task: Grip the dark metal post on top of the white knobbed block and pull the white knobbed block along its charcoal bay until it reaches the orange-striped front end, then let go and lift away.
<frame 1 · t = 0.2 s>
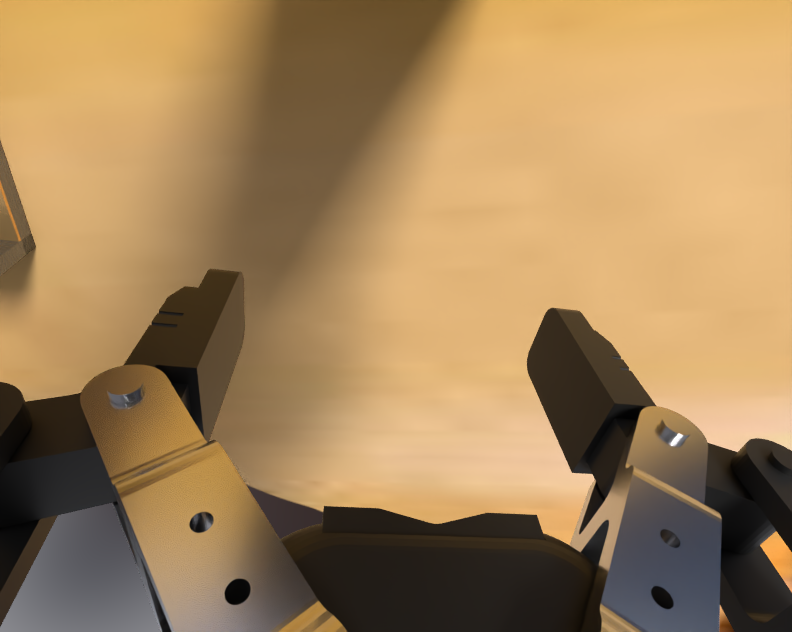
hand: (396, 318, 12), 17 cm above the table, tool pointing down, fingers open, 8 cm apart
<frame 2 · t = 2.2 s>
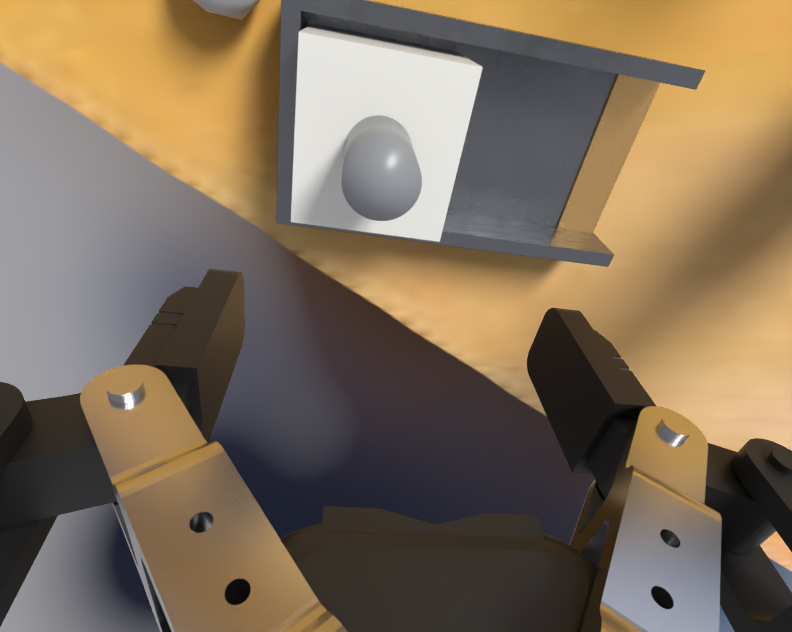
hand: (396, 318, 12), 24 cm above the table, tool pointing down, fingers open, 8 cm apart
white knobbed block: (378, 146, 25), point 7 cm above the table, slide at 0.0 cm
bay: (462, 132, 32), on the table
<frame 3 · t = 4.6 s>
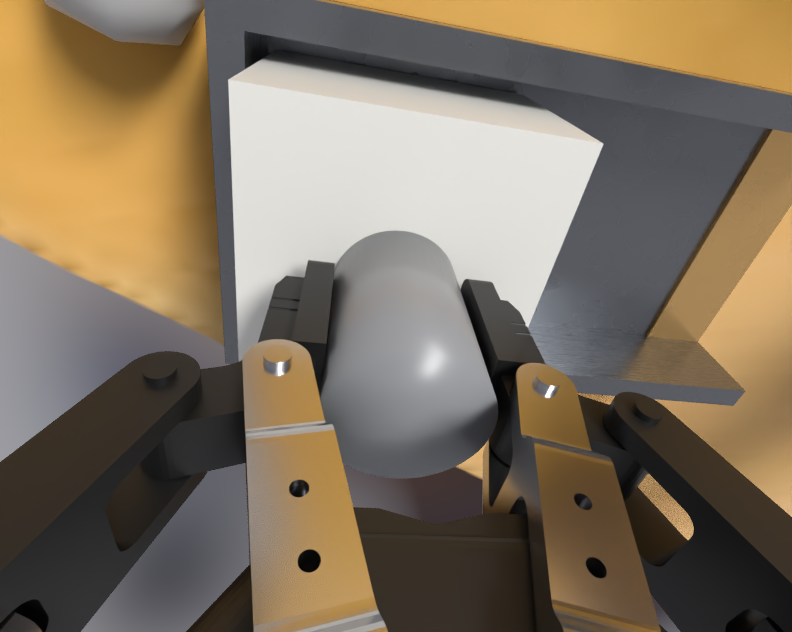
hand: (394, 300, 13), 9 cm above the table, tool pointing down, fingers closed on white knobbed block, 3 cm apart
white knobbed block: (392, 272, 14), point 7 cm above the table, slide at 0.0 cm, touching gripper
bay: (515, 208, 21), on the table
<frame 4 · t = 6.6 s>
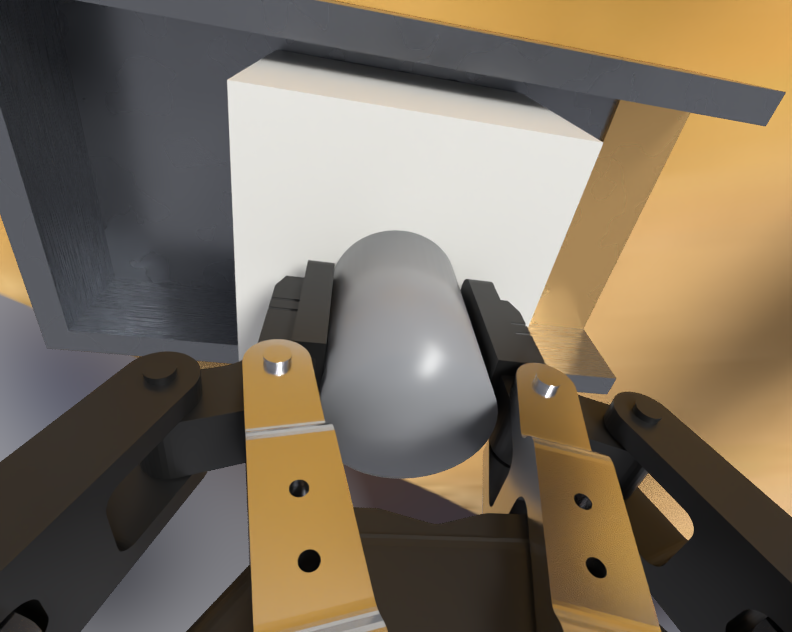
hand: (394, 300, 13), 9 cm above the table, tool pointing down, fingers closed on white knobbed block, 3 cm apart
white knobbed block: (392, 271, 14), point 7 cm above the table, slide at 6.8 cm, touching gripper
bay: (369, 187, 20), on the table
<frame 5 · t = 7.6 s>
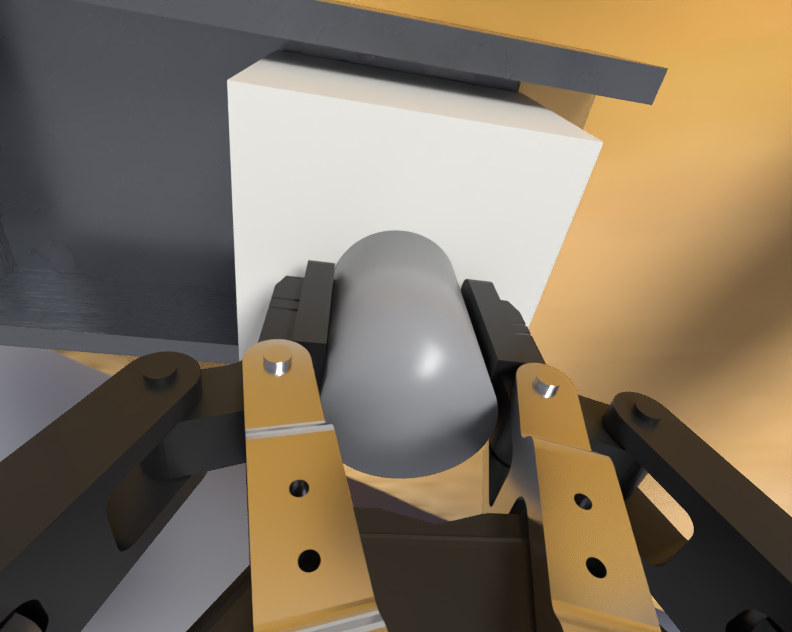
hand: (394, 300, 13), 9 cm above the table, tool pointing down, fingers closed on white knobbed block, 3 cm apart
white knobbed block: (392, 271, 14), point 7 cm above the table, slide at 10.9 cm, touching gripper
bay: (276, 174, 19), on the table
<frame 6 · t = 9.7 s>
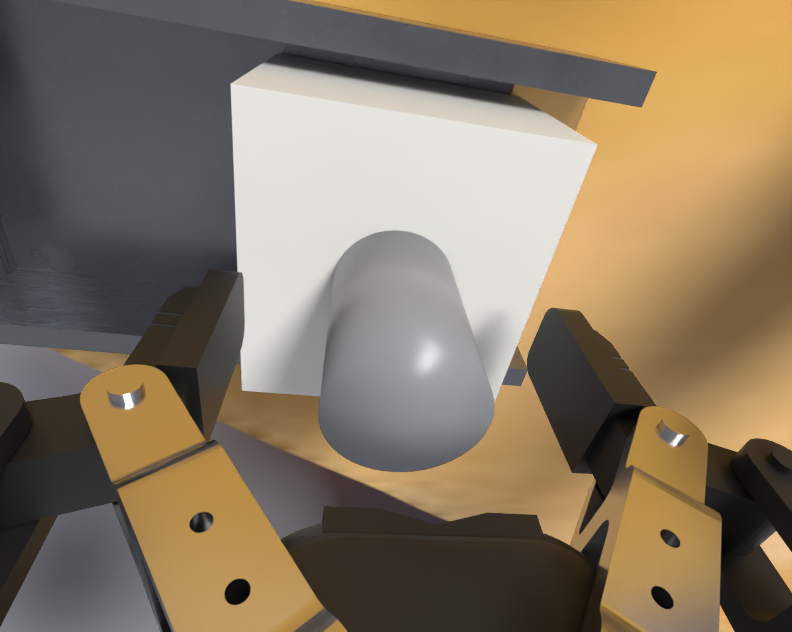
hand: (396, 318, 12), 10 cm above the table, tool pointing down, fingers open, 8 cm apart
white knobbed block: (391, 271, 14), point 7 cm above the table, slide at 11.0 cm
bay: (273, 175, 20), on the table
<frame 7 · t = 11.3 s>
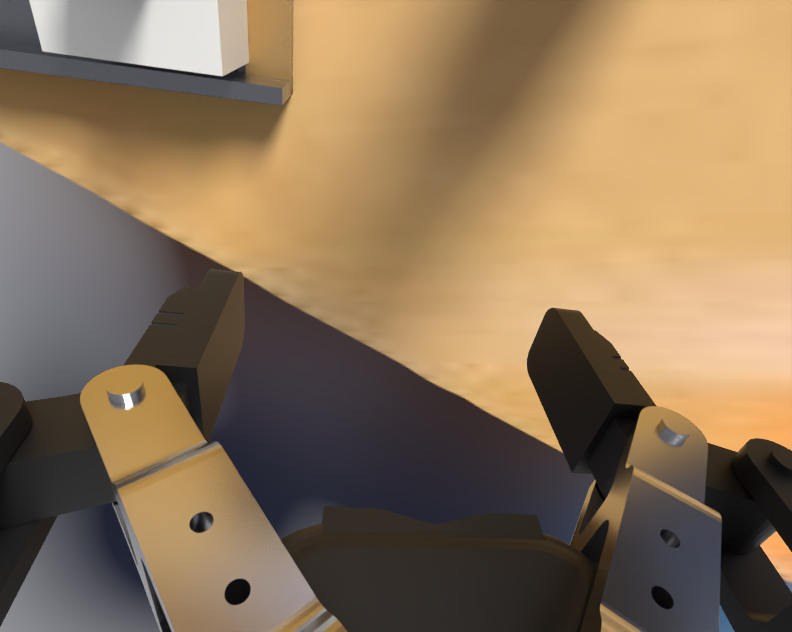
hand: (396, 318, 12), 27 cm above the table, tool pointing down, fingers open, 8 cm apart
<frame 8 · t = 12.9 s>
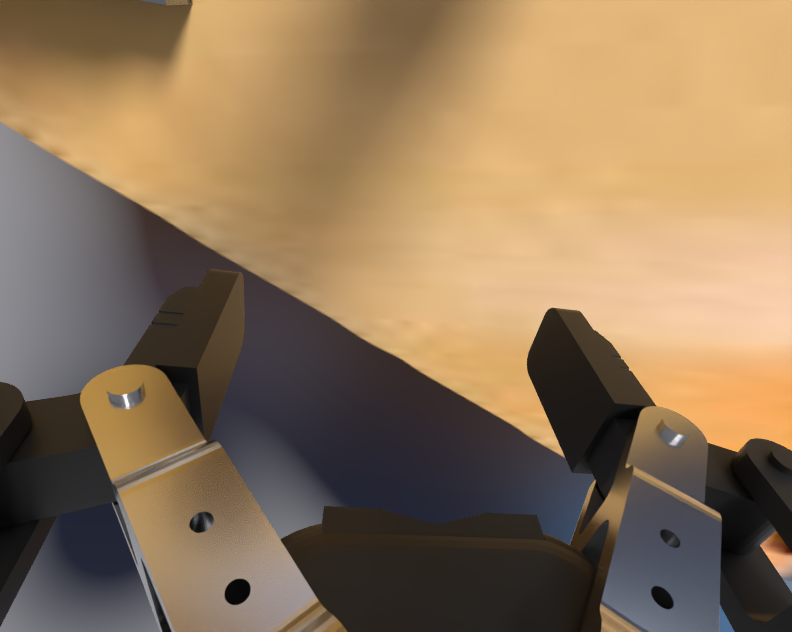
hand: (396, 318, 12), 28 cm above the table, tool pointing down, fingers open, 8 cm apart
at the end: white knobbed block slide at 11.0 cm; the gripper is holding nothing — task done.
